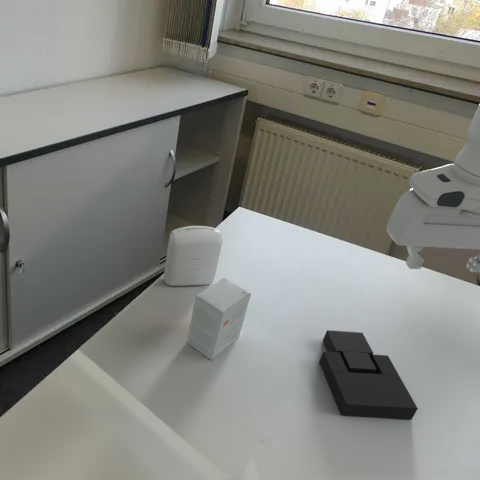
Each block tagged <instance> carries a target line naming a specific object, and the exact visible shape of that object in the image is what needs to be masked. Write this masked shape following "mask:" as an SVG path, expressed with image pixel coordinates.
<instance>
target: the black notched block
mask: <svg viewBox="0 0 480 480" xmlns="http://www.w3.org/2000/svg"><path fill="white" fill-rule="evenodd" d="M371 360H372V362H373V364H374V366H375V368H376V369H377V370H376V372H375V374H368V373H352V372H348V370H347V368H346V366H345V364H344V361H343V359H342V357H341V355H340V353H339V352H327V350H326V351H323V352H322V353H321V356H320V359H319V361H318V363H319V366H320V368H321V371H322V373H323V375H324V377H325V380H326V383H327V385H328V387H329V390H330V392H331V395H332V397H333V399H334V402H335V405H336V406H337V407H336V408H337V409H338V411H339V414H340V416H344V417H345V416H346V417H359V418H376V419H393V420H407V421H408V420H413V418H414V417H415V414H416V413H417V411H418V406H417V404H416V403H415V400H414V399H413V397H412V396H411V394H410V392H409V390H408V388H407V387H406V385H405V383H404V381H403V379H402V377H401V376H400V374H399V372H398V371H397V369H396V367H395V366H394V363H393V362H392V360H391V358H390V357H389V355H386V354H373V355H372V356H371Z"/></svg>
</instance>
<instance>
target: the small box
mask: <svg viewBox="0 0 480 480" xmlns="http://www.w3.org/2000/svg"><path fill="white" fill-rule="evenodd" d="M251 296H252V293H251V292H249V291H248V290H246V289H244V288H243V287H241V286H239V285H238V284H236V283H234V282H233V281H231V280H230V279H228V278H226V277H223V278H221V279H219V280H218V281H217V282H214V283H213V284H211V285H210V286H209V287H207V288H206V289H204V290H203V291H201V292H200V293H198V294H197V295H196V296H195V299H194V304H193V309H192V313H191V319H190V324H189V329H188V334H187V338H186V343H187V344H188V345H190V346H191V347H193V348H194V349H195V350H197V351H198V352H199V353H201V354H202V355H203V356H205V357H206V358H207V359H209V360H211V361H212V360H214V359H215V358H216V357H218V356H219V355H220V354H221V353H222V352H223V351H225V350H226V349H227V348H229V347H230V346H231V345H232V344H234V343H235V342H237V341H238V340H239V339H240V335H241V332H242V327H243V324H244V322H245V318H246V313H247V311H248V310H247V309H248V306H249V303H250V299H251Z"/></svg>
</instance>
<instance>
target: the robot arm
mask: <svg viewBox="0 0 480 480" xmlns="http://www.w3.org/2000/svg"><path fill="white" fill-rule="evenodd" d="M473 115H474V116H473V117H472V120H471V122H470V124H469V127H468V129H467V133H466V134H467V136H466V140H465V144H464V146H463V148H462V149H461V150H460V152H458V153H457V155H456V157H455V159H454V161H453V163H449V164H445V165H442V166H439V167H435V168H431V169H426V170H422V171H417V172H415V173H412V174H411V176H410V178H409V180H408V185H409V187H410V189H409V190H406V191H405V192H404V193H403V194H402V195H400V197H399V198H398V201H397V202H396V204H395V205H394V208H393V210H392V212H391V214H390V217H389V219H388V222H387V225H386V231H387V233H388V235H389V236H390V238H391V239H392V240H393V242H394V244H396V245H397V246H403V247H404V246H405V247H406V249H407V253H408V255H407V258H406V261H405V264H406V266H407V267H408V268H409V270H421V268H422V265H423V264H424V262H425V260H424V259H423V258H422V257H421V255H420V253H418V252H422V251H423V250H424V249H423V248H424V247H426V248H444V249H461V250H462V249H463V250H464V249H465V250H479V251H480V104H478V108H477V109H476V111H475V113H474V114H473ZM466 268H467V270H469V272H470V273H480V253H478V254H477V255H476V256H470V257H469V259H468V262H467V263H466Z"/></svg>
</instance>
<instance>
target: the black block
mask: <svg viewBox="0 0 480 480" xmlns="http://www.w3.org/2000/svg"><path fill="white" fill-rule="evenodd" d="M322 343H323V346H324V348H325V349H326V351H327V352H339V353H340V355H341V357H342V359H343V361H344V364H345V366H346V368H347V370H348V372H352V373H368V374H375V372H376V370H377V369H376V368H375V366H374V364H373V362H372V360H371V356H372V355H374V351H373V350H372V347H371V346H370V344H369V342H368V341H367V338H366V337H365V335H364V333H363V332H356V331H346V330H345V331H344V330H331V329H330V330H329V329H327V330H326V331H325V334H324V337H323V339H322Z"/></svg>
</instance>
